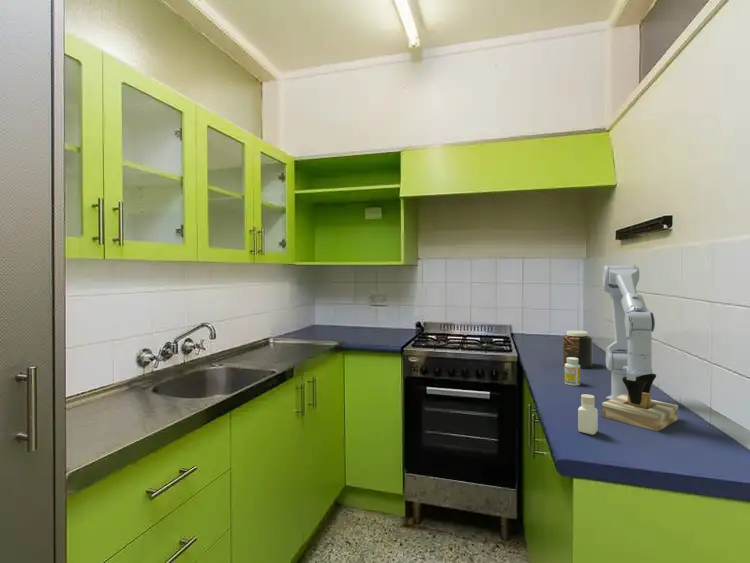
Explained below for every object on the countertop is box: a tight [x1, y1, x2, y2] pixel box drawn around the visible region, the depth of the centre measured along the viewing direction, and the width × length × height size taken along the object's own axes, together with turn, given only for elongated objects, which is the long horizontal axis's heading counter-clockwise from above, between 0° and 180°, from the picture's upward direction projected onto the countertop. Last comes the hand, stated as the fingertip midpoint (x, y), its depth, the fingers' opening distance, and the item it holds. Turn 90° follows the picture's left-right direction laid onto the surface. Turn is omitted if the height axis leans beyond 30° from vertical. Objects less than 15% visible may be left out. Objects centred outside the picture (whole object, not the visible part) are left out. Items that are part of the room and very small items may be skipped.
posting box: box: [601, 394, 679, 432], centre depth 116 cm, size 14×14×4 cm
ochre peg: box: [628, 392, 652, 410], centre depth 116 cm, size 4×4×7 cm
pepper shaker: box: [577, 393, 599, 435], centre depth 107 cm, size 4×4×10 cm
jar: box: [561, 330, 594, 369], centre depth 179 cm, size 12×12×15 cm
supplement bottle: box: [564, 357, 581, 387], centre depth 151 cm, size 5×5×10 cm
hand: (639, 400), depth 116 cm, fingers open, 6 cm apart
